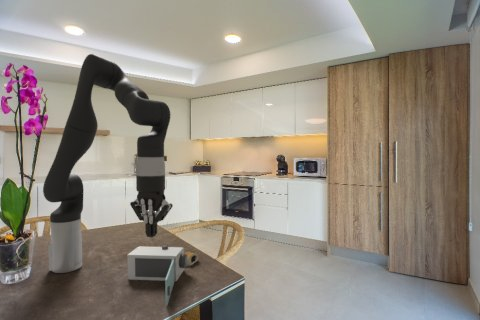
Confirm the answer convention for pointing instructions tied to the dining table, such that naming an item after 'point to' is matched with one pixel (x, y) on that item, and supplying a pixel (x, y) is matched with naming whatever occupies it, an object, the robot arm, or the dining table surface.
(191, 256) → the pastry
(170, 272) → the door
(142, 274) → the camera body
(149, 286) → the dining table surface
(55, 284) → the dining table surface
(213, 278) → the dining table surface
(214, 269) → the dining table surface
